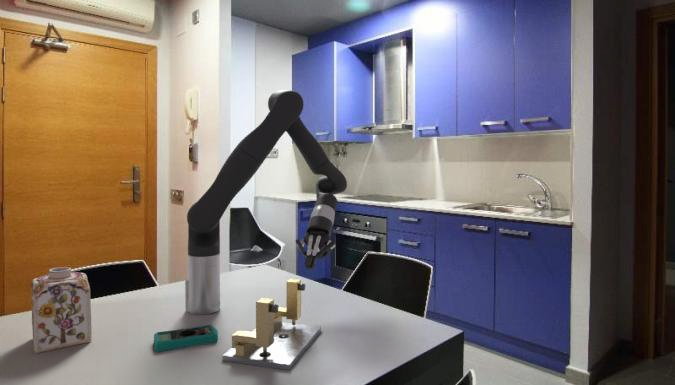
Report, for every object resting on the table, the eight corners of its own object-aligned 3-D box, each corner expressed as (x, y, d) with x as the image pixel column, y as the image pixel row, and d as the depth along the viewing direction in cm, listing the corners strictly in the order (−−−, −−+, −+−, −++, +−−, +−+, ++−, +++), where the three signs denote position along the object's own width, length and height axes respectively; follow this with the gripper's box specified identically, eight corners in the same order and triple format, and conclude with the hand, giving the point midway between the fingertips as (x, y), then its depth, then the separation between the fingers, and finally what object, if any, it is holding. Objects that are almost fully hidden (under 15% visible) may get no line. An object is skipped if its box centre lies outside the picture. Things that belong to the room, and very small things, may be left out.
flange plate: (222, 360, 95) (222, 355, 95) (265, 324, 117) (265, 320, 117) (289, 370, 91) (289, 364, 91) (321, 331, 113) (321, 326, 113)
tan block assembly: (229, 355, 95) (229, 300, 94) (270, 321, 116) (270, 277, 115) (272, 361, 92) (272, 305, 92) (305, 325, 113) (306, 279, 113)
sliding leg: (266, 323, 113) (266, 279, 113) (270, 320, 116) (270, 277, 115) (302, 327, 110) (302, 282, 110) (305, 323, 113) (306, 279, 113)
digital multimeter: (219, 343, 105) (219, 332, 105) (155, 354, 99) (154, 342, 99) (214, 333, 112) (214, 322, 112) (153, 343, 105) (153, 331, 105)
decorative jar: (32, 338, 107) (30, 267, 106) (85, 328, 114) (84, 261, 113) (34, 354, 97) (31, 277, 96) (92, 342, 104) (90, 270, 103)
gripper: (299, 214, 134) (284, 260, 123) (339, 215, 131) (328, 263, 119) (304, 228, 139) (291, 274, 128) (343, 230, 136) (333, 277, 125)
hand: (308, 268), depth 124 cm, fingers closed
